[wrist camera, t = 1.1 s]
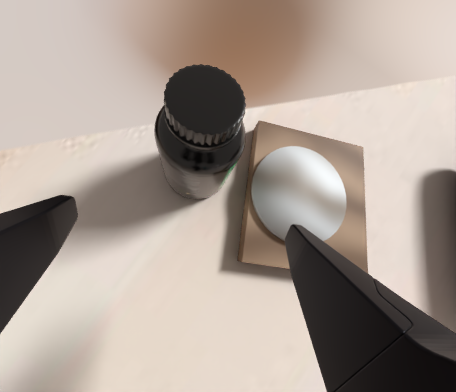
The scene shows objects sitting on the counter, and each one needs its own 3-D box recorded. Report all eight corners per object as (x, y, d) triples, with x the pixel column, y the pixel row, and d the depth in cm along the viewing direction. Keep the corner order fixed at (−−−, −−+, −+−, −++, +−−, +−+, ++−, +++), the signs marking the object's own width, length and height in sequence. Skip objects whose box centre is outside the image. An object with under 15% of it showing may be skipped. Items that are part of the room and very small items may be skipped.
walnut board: (353, 277, 24) (372, 281, 21) (237, 260, 22) (243, 262, 19) (351, 153, 28) (367, 144, 26) (253, 129, 26) (260, 117, 24)
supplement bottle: (235, 186, 24) (282, 130, 12) (180, 210, 22) (173, 170, 11) (211, 136, 25) (232, 40, 13) (155, 154, 23) (124, 62, 11)
